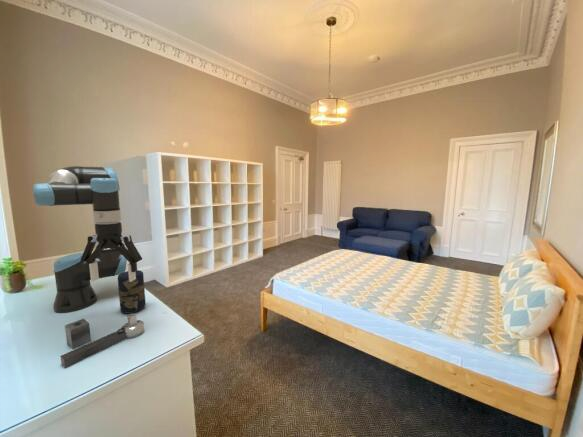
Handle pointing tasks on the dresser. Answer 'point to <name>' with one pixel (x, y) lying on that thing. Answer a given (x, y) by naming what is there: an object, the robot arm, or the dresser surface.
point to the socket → (78, 333)
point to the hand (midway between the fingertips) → (113, 280)
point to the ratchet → (105, 341)
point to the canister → (131, 292)
